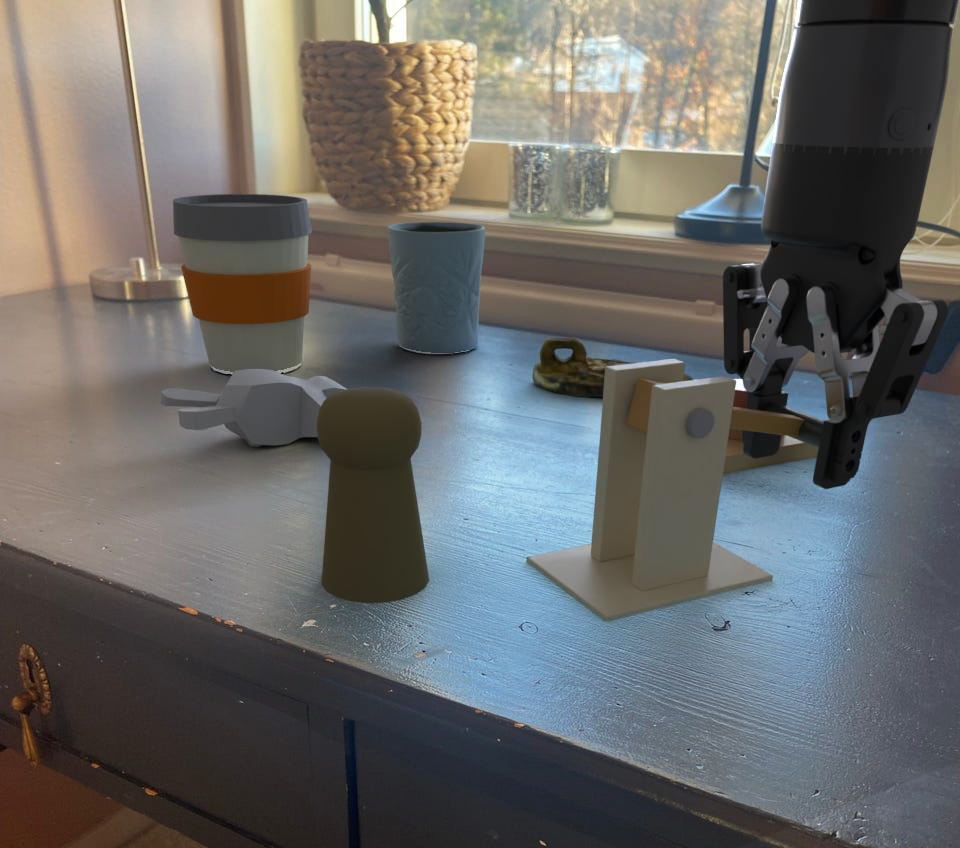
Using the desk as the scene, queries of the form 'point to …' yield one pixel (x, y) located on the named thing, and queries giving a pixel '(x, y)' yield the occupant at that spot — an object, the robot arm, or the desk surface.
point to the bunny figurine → (257, 406)
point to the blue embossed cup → (437, 284)
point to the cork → (371, 496)
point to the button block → (786, 453)
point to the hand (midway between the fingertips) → (793, 468)
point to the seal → (572, 369)
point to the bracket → (655, 500)
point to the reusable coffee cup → (247, 276)
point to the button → (740, 394)
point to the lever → (738, 417)
